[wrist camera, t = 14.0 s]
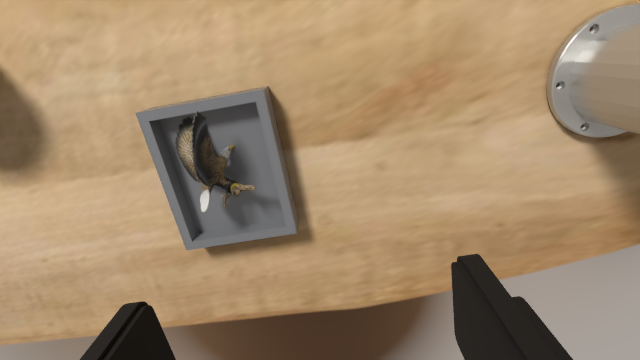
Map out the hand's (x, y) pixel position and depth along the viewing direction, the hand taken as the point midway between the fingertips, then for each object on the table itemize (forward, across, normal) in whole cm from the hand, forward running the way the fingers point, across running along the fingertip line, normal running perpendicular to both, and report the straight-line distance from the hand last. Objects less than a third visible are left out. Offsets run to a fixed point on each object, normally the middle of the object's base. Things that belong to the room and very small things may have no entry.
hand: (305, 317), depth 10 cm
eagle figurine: (+28, +12, +1) cm, 30 cm away
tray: (+28, +11, +3) cm, 31 cm away
